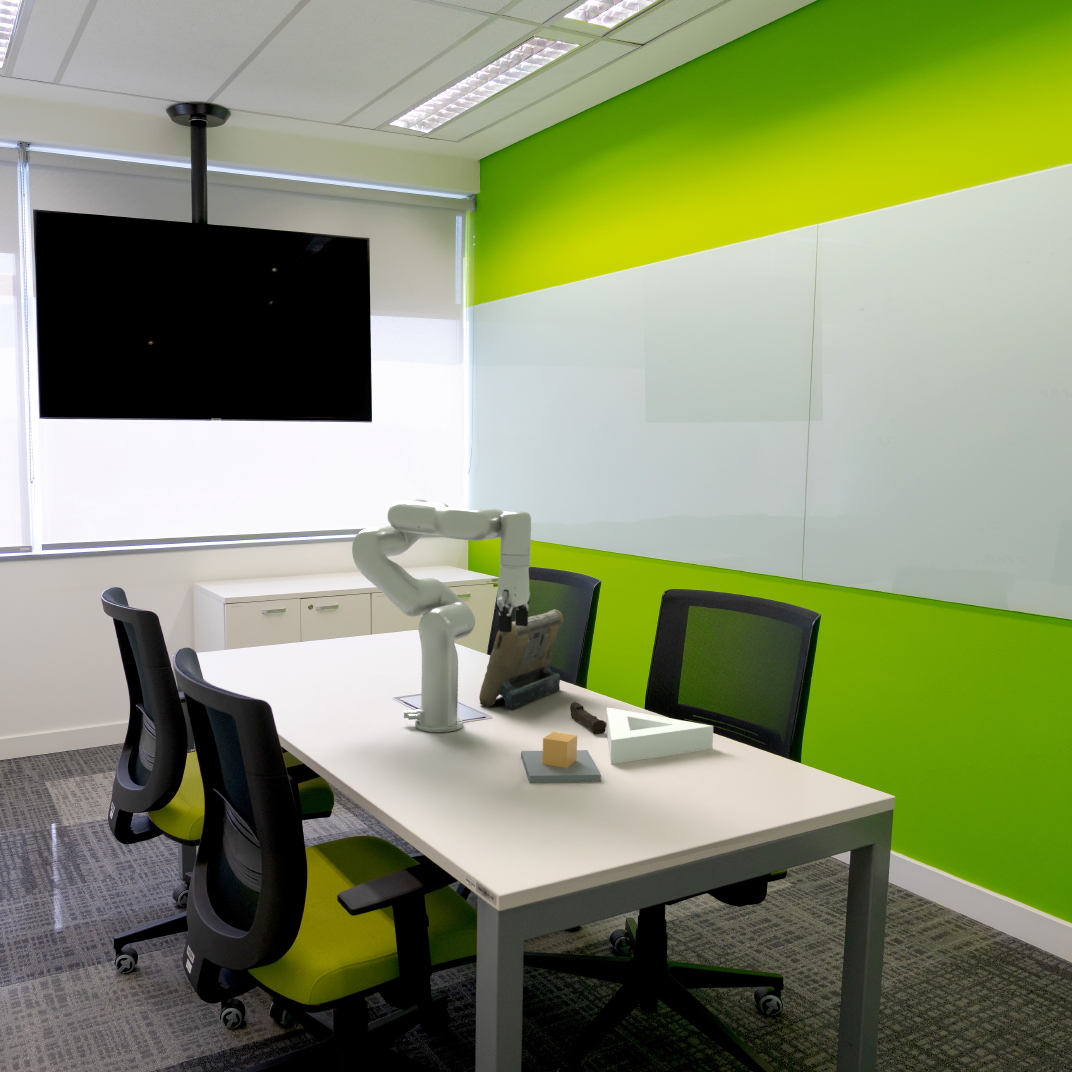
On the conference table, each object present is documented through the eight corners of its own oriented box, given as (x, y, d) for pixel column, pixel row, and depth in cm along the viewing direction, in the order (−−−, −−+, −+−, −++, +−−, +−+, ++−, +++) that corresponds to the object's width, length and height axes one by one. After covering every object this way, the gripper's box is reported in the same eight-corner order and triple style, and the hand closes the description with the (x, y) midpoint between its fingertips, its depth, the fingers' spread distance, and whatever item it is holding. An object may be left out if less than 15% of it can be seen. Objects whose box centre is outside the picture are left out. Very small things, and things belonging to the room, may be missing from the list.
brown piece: (606, 735, 256) (607, 717, 255) (592, 736, 254) (593, 718, 254) (580, 716, 274) (581, 699, 273) (566, 717, 272) (567, 700, 272)
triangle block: (605, 730, 261) (606, 707, 261) (704, 733, 260) (705, 710, 260) (610, 766, 231) (611, 740, 231) (721, 770, 230) (722, 743, 230)
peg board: (529, 782, 217) (530, 758, 216) (521, 757, 235) (521, 734, 234) (600, 781, 219) (601, 757, 218) (587, 756, 237) (587, 733, 236)
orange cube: (542, 764, 225) (543, 738, 225) (552, 756, 231) (553, 731, 230) (566, 767, 223) (567, 742, 222) (576, 760, 228) (577, 735, 228)
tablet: (524, 683, 310) (525, 604, 308) (564, 688, 304) (566, 608, 302) (475, 706, 280) (477, 620, 278) (519, 713, 274) (522, 624, 272)
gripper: (515, 556, 255) (514, 622, 256) (486, 563, 239) (485, 632, 241) (542, 558, 252) (540, 624, 253) (514, 565, 236) (512, 635, 238)
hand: (513, 628), depth 247 cm, fingers open, 9 cm apart
